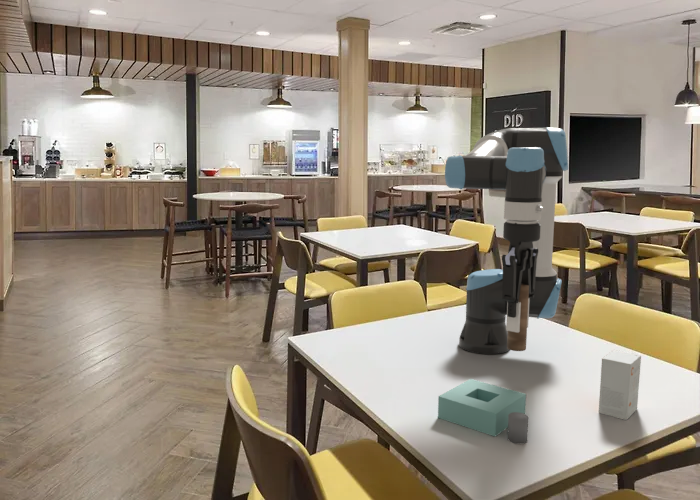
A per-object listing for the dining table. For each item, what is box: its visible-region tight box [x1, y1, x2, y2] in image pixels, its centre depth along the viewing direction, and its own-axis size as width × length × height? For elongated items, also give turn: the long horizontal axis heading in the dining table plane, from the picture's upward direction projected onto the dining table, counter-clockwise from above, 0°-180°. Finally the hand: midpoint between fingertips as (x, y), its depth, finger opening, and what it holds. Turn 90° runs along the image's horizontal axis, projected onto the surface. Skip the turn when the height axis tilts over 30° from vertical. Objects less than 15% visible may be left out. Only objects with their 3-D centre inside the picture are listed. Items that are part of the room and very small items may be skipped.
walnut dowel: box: [507, 284, 529, 352], centre depth 135 cm, size 4×4×14 cm
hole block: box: [437, 378, 527, 437], centre depth 139 cm, size 14×14×5 cm
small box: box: [598, 349, 642, 421], centre depth 141 cm, size 8×6×13 cm
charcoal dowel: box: [507, 412, 530, 445], centre depth 128 cm, size 4×4×5 cm
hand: (517, 328), depth 135 cm, fingers closed on walnut dowel, 4 cm apart
